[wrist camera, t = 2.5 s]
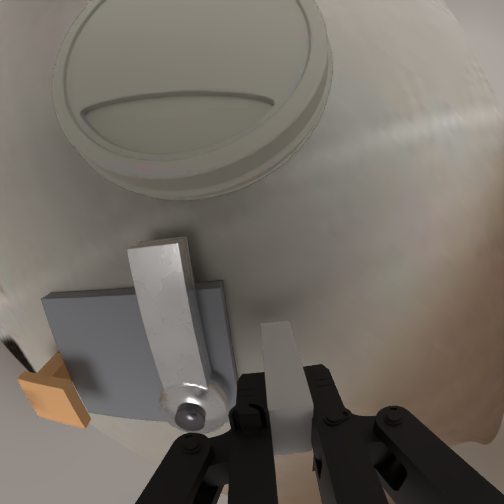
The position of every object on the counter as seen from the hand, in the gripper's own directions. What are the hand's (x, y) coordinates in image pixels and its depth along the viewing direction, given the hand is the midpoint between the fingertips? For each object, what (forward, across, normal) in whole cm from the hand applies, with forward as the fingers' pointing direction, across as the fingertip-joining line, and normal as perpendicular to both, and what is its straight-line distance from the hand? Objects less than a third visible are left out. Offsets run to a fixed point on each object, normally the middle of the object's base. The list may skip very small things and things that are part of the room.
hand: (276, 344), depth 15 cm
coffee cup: (+5, -2, +12) cm, 14 cm away
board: (+5, -10, -4) cm, 12 cm away
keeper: (+5, -17, -5) cm, 19 cm away
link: (+3, -6, -1) cm, 7 cm away
